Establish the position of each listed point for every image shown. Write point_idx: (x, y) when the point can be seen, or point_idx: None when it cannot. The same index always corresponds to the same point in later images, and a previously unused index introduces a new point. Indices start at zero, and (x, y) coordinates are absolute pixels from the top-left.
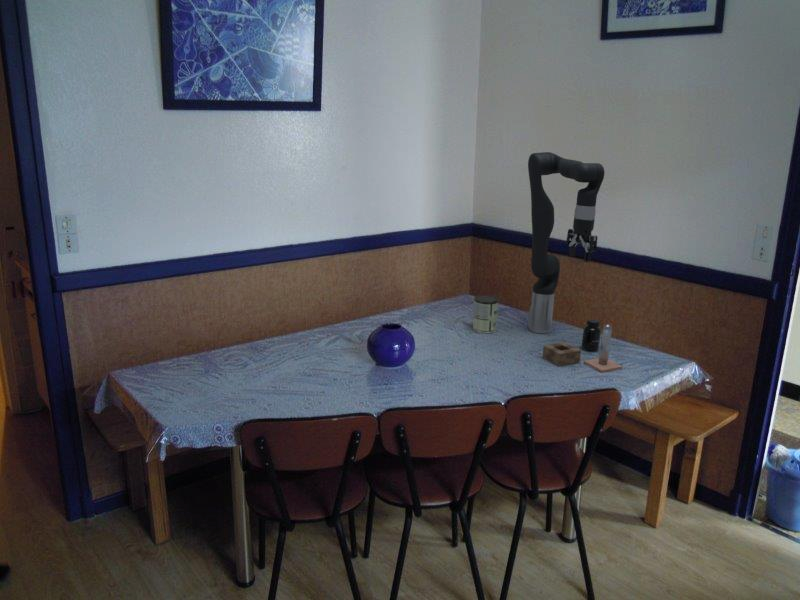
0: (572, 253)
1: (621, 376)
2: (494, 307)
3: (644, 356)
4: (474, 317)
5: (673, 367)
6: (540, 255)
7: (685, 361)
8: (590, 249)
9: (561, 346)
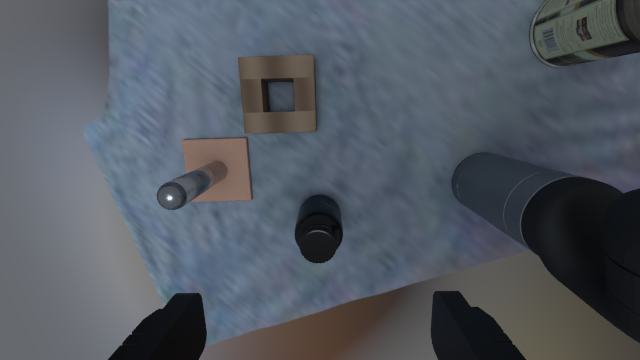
0: (446, 335)
1: (155, 168)
2: (600, 12)
3: (239, 293)
4: None
5: None
6: None
7: None
8: None
9: (295, 106)
